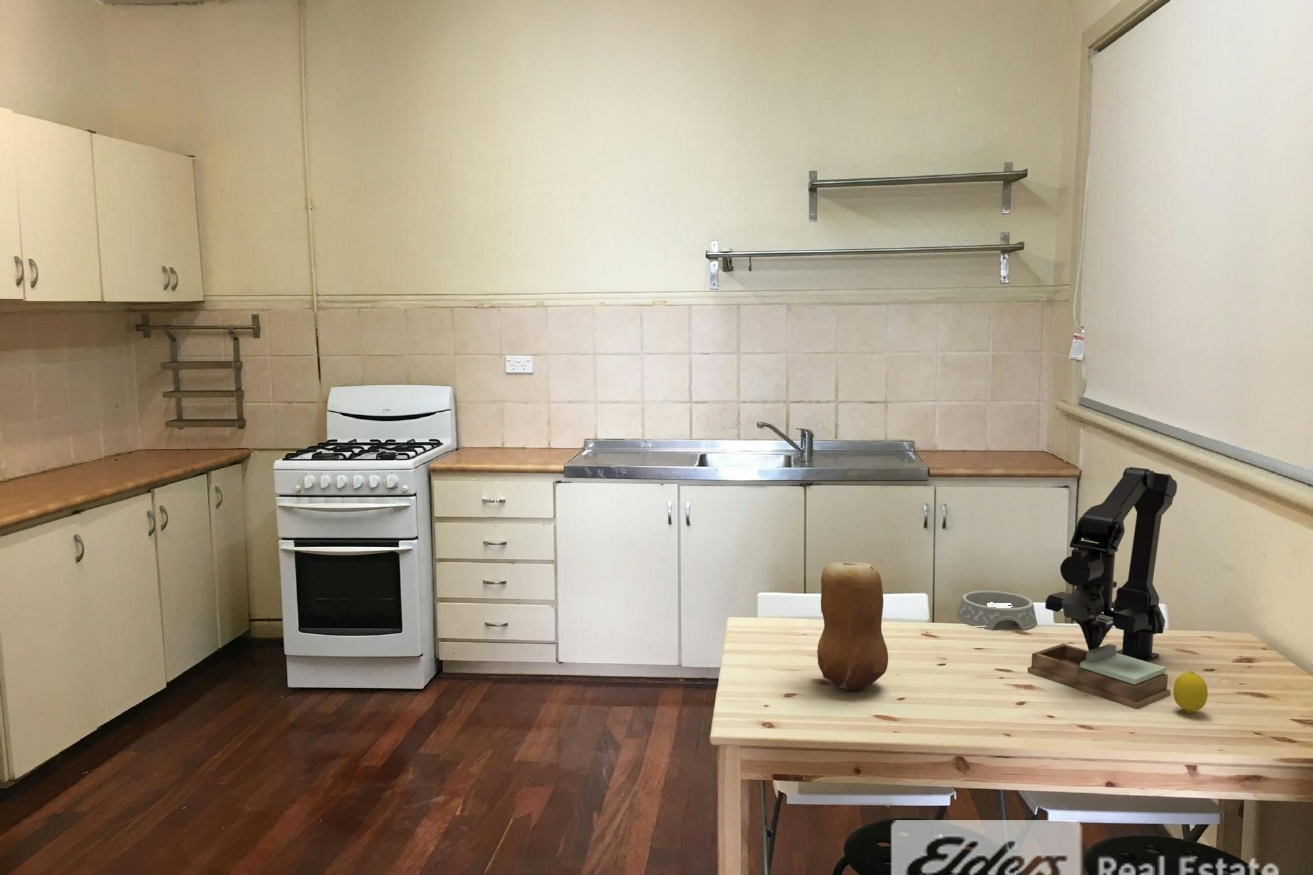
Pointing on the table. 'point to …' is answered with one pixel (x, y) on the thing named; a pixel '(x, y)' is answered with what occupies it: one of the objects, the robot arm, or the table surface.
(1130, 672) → the slide cover
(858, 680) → the butternut squash
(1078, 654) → the wooden box
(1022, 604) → the dog bowl
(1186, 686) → the lemon
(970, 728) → the table surface
